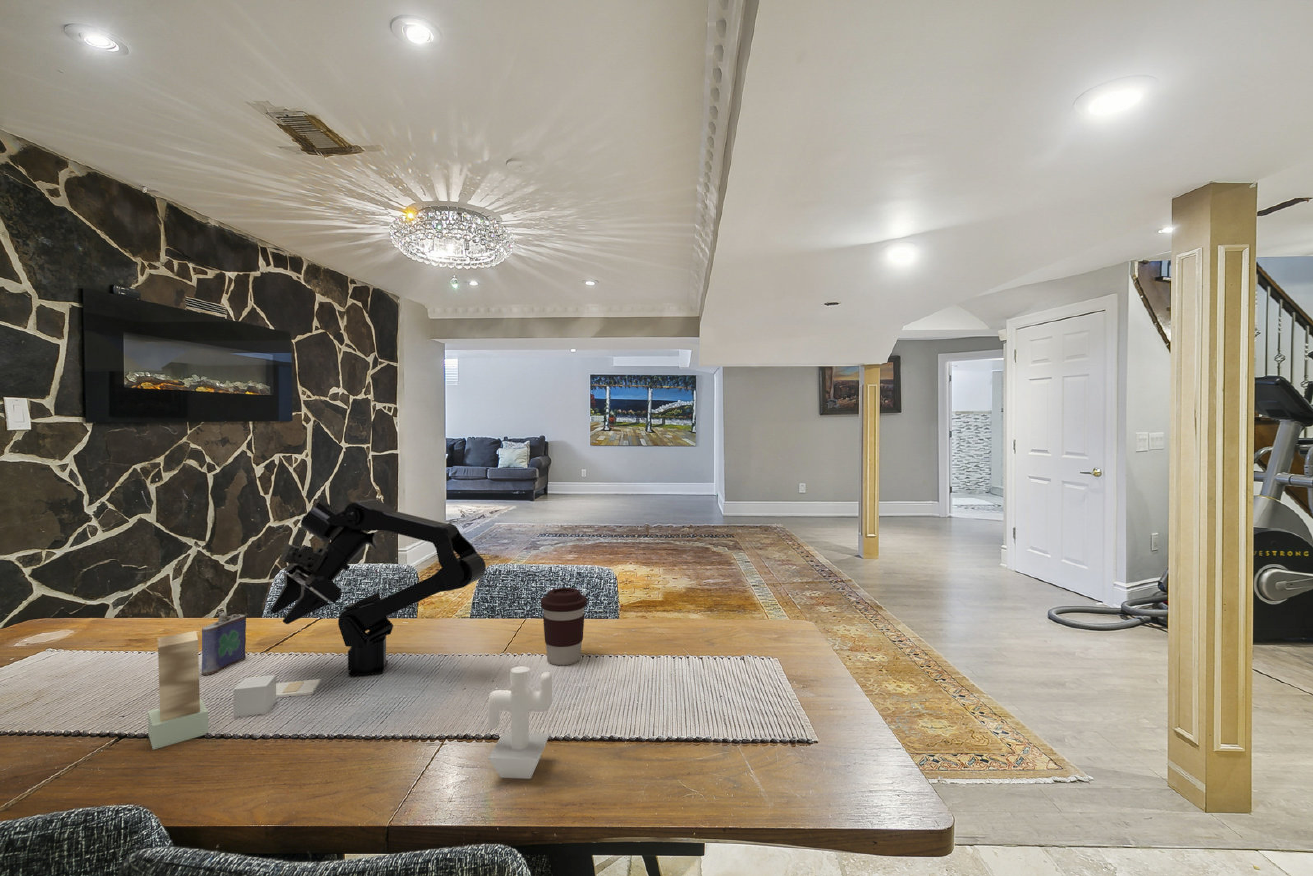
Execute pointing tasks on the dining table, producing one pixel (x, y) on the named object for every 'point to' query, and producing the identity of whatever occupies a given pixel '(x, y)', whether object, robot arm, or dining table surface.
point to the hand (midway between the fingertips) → (278, 617)
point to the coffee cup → (563, 625)
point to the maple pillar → (178, 675)
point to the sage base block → (176, 727)
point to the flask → (223, 643)
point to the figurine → (519, 724)
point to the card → (296, 688)
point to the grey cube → (255, 695)
